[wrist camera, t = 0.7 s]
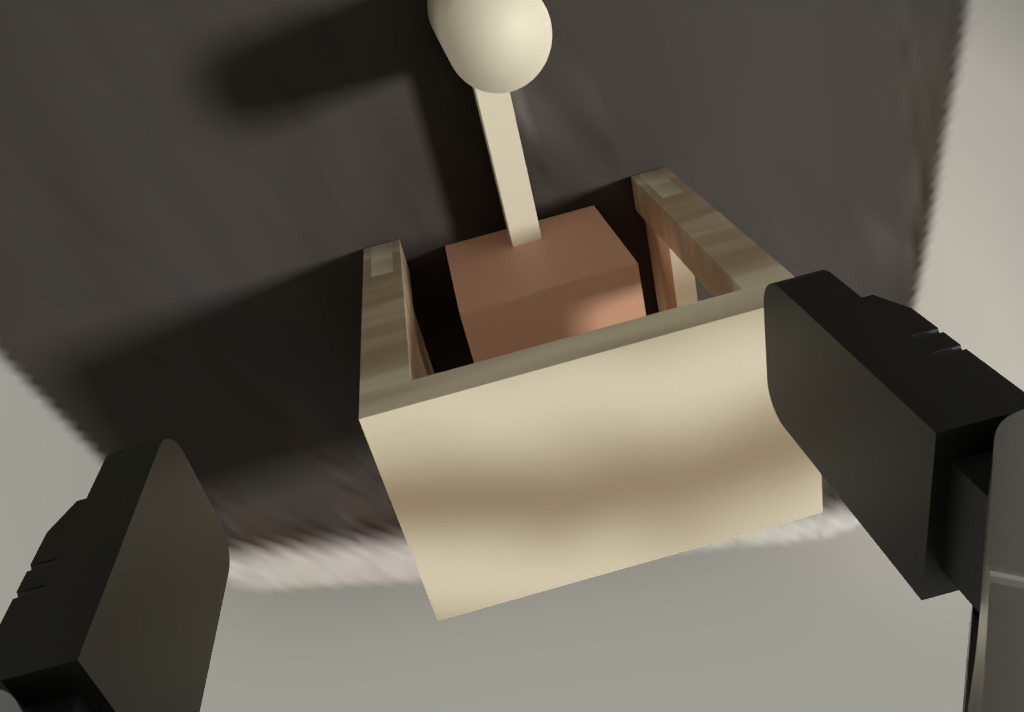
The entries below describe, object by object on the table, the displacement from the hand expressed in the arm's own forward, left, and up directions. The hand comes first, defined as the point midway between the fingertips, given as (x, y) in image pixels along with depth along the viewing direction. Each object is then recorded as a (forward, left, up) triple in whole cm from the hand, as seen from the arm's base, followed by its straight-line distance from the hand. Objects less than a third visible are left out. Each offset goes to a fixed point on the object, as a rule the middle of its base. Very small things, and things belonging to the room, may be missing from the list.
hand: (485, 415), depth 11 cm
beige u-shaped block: (+8, +3, -20) cm, 22 cm away
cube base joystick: (+4, +3, -20) cm, 21 cm away
